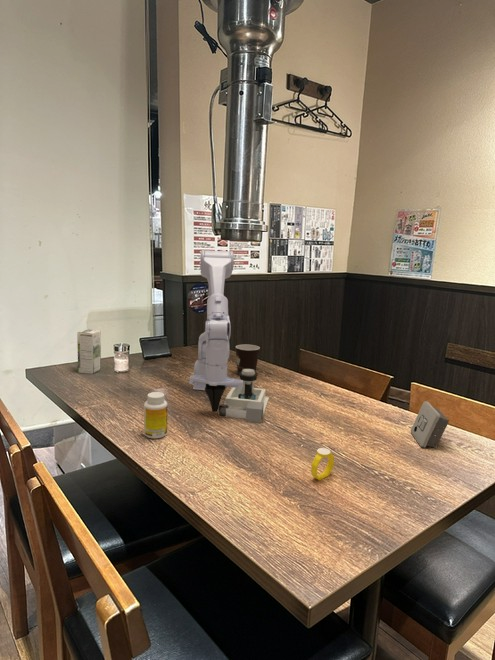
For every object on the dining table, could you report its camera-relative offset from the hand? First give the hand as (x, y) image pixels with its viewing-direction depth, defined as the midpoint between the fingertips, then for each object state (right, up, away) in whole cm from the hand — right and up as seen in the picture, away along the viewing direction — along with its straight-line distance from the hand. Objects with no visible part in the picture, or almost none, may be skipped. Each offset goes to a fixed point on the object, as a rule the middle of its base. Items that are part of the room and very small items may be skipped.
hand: (215, 410), depth 119 cm
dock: (+8, 0, +6) cm, 10 cm away
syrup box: (-46, +8, +32) cm, 57 cm away
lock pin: (+5, -1, -1) cm, 6 cm away
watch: (+24, -9, -29) cm, 39 cm away
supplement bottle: (-14, -3, -14) cm, 19 cm away
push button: (+9, +1, +8) cm, 12 cm away
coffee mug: (+9, +6, +39) cm, 40 cm away
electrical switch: (+54, -6, -10) cm, 55 cm away
